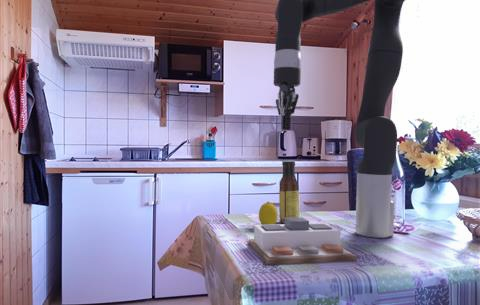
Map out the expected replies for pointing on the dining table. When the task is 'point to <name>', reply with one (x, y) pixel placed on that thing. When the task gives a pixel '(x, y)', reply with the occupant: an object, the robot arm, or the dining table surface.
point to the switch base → (303, 254)
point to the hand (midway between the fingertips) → (285, 130)
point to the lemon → (268, 214)
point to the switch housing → (295, 237)
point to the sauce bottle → (288, 192)
